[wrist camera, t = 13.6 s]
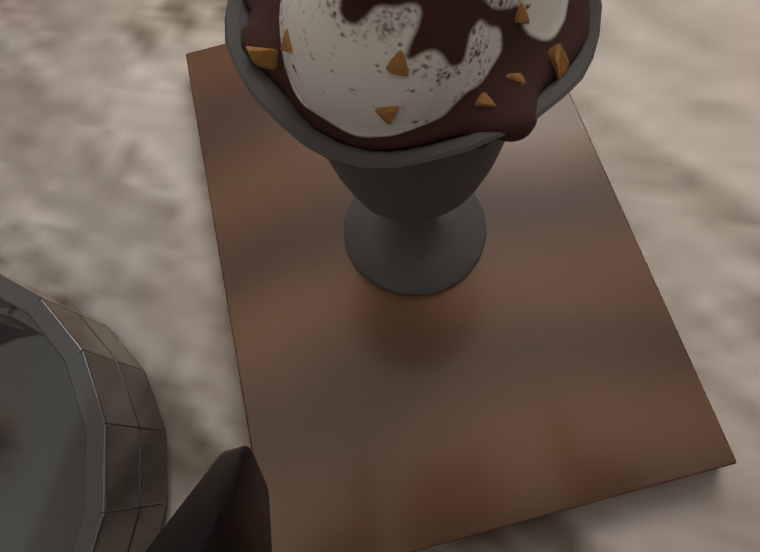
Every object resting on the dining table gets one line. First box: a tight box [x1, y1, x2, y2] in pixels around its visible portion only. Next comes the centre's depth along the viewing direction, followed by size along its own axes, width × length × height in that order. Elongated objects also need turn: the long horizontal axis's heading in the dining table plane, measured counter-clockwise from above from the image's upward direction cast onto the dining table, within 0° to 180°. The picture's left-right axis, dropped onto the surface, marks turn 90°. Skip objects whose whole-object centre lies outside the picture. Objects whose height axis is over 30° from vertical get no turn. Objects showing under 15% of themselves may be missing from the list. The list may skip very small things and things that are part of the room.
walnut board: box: [186, 44, 736, 552], centre depth 20 cm, size 20×14×1 cm
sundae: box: [225, 0, 602, 295], centre depth 12 cm, size 7×7×15 cm
